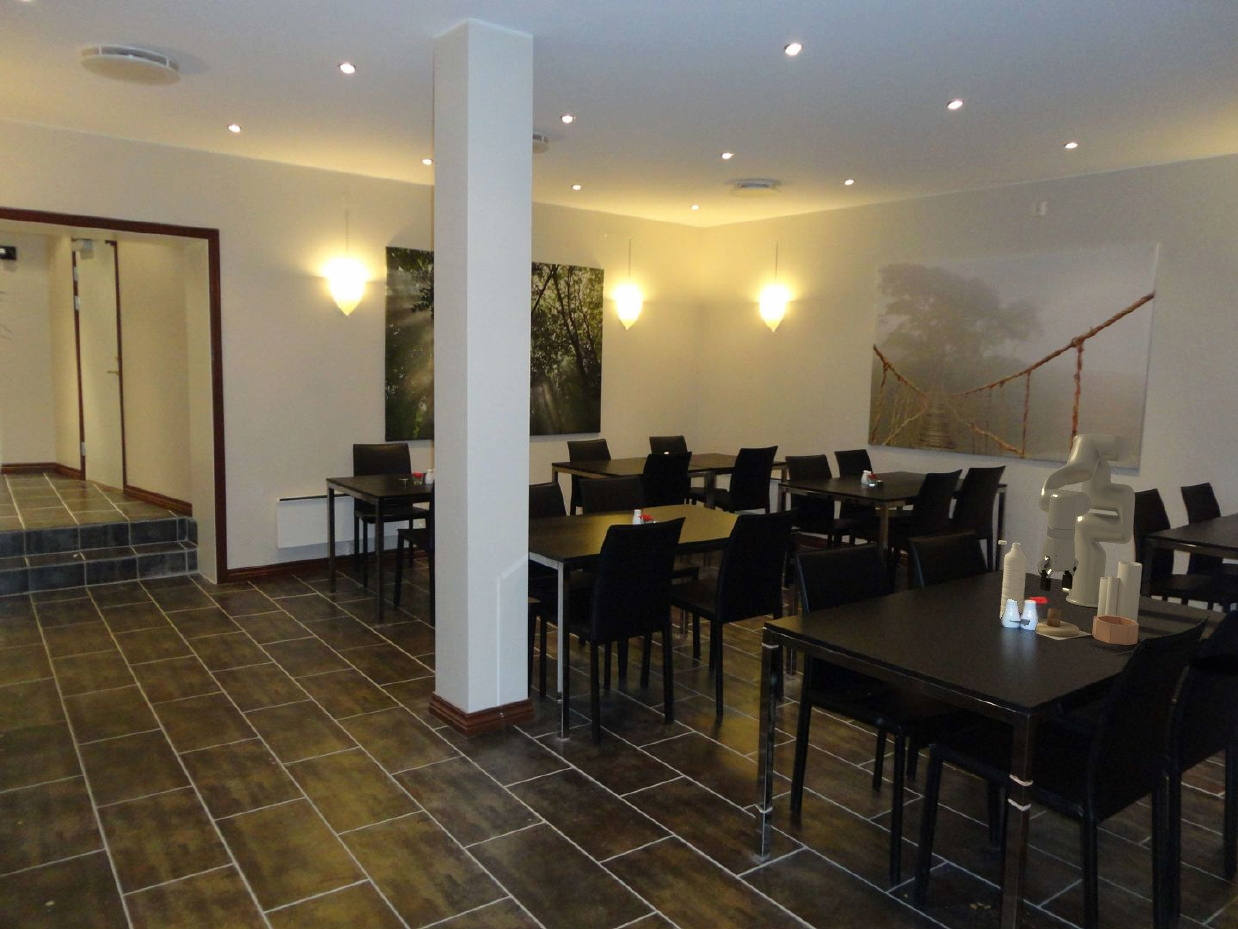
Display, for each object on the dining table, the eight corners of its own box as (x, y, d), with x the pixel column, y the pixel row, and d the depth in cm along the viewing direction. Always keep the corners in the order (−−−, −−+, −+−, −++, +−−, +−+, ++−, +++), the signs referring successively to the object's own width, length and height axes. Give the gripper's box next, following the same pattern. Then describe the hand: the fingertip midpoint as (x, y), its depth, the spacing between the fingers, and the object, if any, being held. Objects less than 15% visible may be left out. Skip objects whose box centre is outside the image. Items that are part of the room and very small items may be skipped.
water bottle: (1024, 619, 279) (1030, 543, 276) (1018, 624, 274) (1024, 545, 271) (996, 614, 284) (1001, 539, 282) (989, 618, 279) (995, 541, 277)
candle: (1138, 625, 276) (1144, 563, 274) (1134, 630, 270) (1140, 567, 268) (1098, 618, 283) (1103, 557, 281) (1093, 622, 277) (1098, 561, 275)
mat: (1015, 627, 270) (1015, 626, 270) (1048, 622, 276) (1048, 621, 276) (1058, 641, 256) (1058, 640, 256) (1091, 635, 263) (1091, 634, 263)
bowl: (1085, 636, 262) (1086, 617, 261) (1108, 632, 267) (1110, 613, 266) (1119, 647, 252) (1121, 627, 251) (1143, 643, 257) (1145, 623, 256)
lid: (1017, 626, 270) (1019, 606, 269) (1048, 621, 276) (1049, 601, 275) (1058, 639, 257) (1059, 618, 256) (1089, 634, 263) (1090, 613, 263)
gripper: (1068, 530, 270) (1063, 584, 272) (1030, 532, 263) (1025, 588, 264) (1090, 534, 264) (1086, 590, 265) (1052, 537, 256) (1047, 594, 257)
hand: (1055, 589), depth 265 cm, fingers open, 9 cm apart
